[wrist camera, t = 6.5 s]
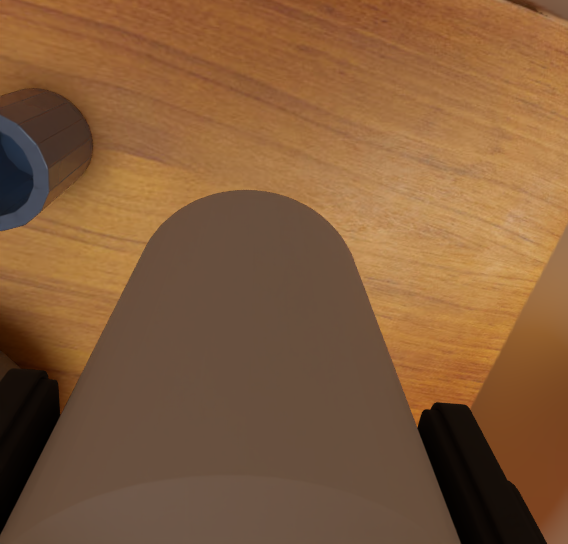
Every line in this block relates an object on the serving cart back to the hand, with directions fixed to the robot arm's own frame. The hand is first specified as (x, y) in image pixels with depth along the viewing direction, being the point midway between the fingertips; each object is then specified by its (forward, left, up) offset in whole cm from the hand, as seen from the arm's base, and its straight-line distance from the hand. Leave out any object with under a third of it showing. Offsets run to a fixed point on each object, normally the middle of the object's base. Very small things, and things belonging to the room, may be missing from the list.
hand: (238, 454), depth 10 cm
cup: (+2, -13, -28) cm, 31 cm away
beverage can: (0, 0, -7) cm, 7 cm away
